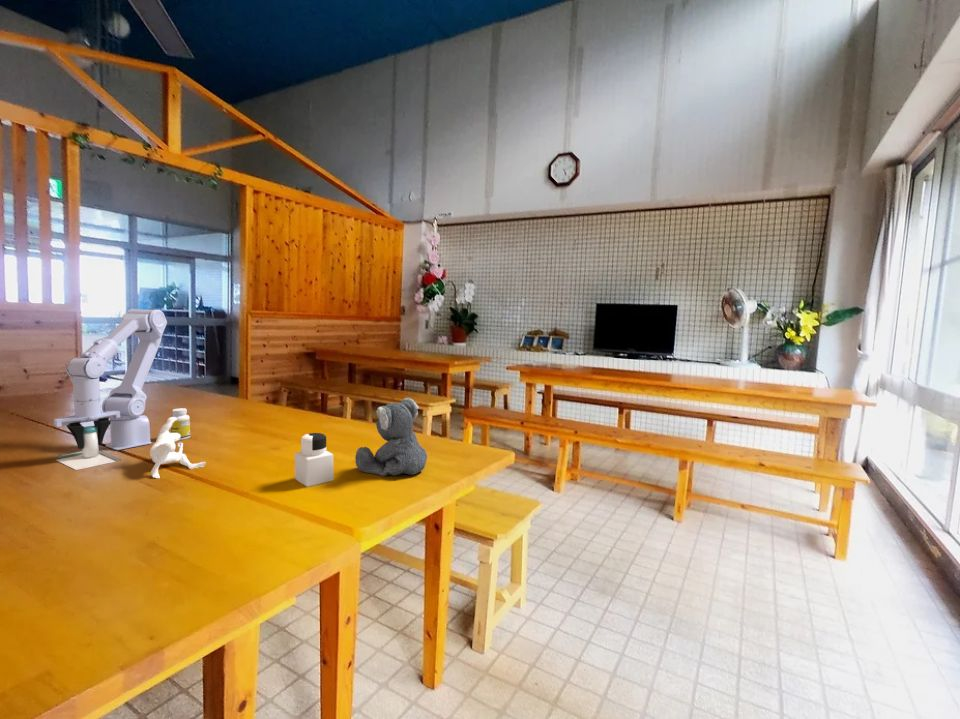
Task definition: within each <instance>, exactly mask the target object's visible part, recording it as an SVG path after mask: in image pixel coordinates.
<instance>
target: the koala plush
mask: <svg viewBox="0 0 960 719" xmlns="http://www.w3.org/2000/svg"><path fill="white" fill-rule="evenodd" d="M419 408H420V406H418V404H417V402H416V401H415V400H414V399H412V398H411V397H408V396H407V397H405V398H403V399H401V401H400V402H390V403H387V404H386V405H382V406H379V407H377V410H376V411H375V413H376V415H377V417H378V418H377V420H376V421H375V422H376V424H375V426H376V429H377V433H378V434H379V435H380V437H381V438H382V439H383V440H384V441H386V442H385V443H383V445H382V446H380V447H379V448H378V449H377V450H376V452H375V453H373V452H372V450H371V449H370V448H369V447H366V446H364V447H363V446H361V447H358V448H357V450H356V451H355V466H356V468H357V469H358V470H359V471H361V472H363V473H367V474H373V475H378V476H381V477H385V476H388V475H392V476H393V477H395V476H399V475H402V474H404V475H409V476H411V475H412V476H413V475H416V474H418V473H421V472H422V471H423V470H424V469H425V467H426V463H427V460H428V453H427V450H426V449H425V448H424V447H423V446H422V445H420V444H419V441H418V438H417V436H416V432H415V431H413V428H414V424H413V423H414V422H413V421H414V420H416V419H417V417H418V416H419V412H418V409H419Z"/></svg>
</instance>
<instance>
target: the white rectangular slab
mask: <svg viewBox="0 0 960 719" xmlns="http://www.w3.org/2000/svg"><path fill="white" fill-rule="evenodd" d="M121 459H122V458H119V457H117V456H115V455H112V454H109V453H107V452H104V451H103V450H102V451H101V450H99V455H98V456H94V457H82V455H79V456H73V457H68V458H63V459H59V458H57V459H56V462H58V463H60V464H63V465H65V466H66V467H69V468H71V469H72V470H75V471H79V470H83V469H87V468H93V467H97V466H102V465H105V464H106V465H107V464H111V463H115V462H121Z"/></svg>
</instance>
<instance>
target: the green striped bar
mask: <svg viewBox="0 0 960 719" xmlns="http://www.w3.org/2000/svg"><path fill="white" fill-rule="evenodd" d="M79 455H82V450H79V451H76V452H71V453H64V454H59V455H57V456H56V458H57V459H63V458H69V457H74V456H79Z"/></svg>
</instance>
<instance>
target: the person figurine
mask: <svg viewBox="0 0 960 719" xmlns="http://www.w3.org/2000/svg"><path fill="white" fill-rule="evenodd" d="M166 419H167V420H166V422H165V423H164V424H163V425H162V426H161V429H160V430H159V432H158V436H157V438H156V441H155V443H153V444H152V446H151V448H150V449H149V457H150V458H151V460H152V462H153V463H155V464H154V466H152V469H151V471H150V472H151V477H152V478H153V479H160V478H161V477H160V474H159V467H160V466H161V465H164V464H169V463H176V462H179V463H180V464H181V465H183V466H186V467H188V469H189V470H195V469H194V468H196V469H200V468H199V467H201V468H204V467H205V466H206V461H201V462H198V463H191V462H190V460H189V459H188V457H187V455H186V454H185V453H183V449H184V448H183V447H184V443H183V442H180V440H179V439H180V437H181V436H180V434H178V433H171V432H170V430H171V426H172V423H173V422H174V421H176V420H177V418H176V417H172V416H171V417H169V418H166ZM177 441H179V442H177ZM175 442H177V448H178V451H175V450H176V443H175Z"/></svg>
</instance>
